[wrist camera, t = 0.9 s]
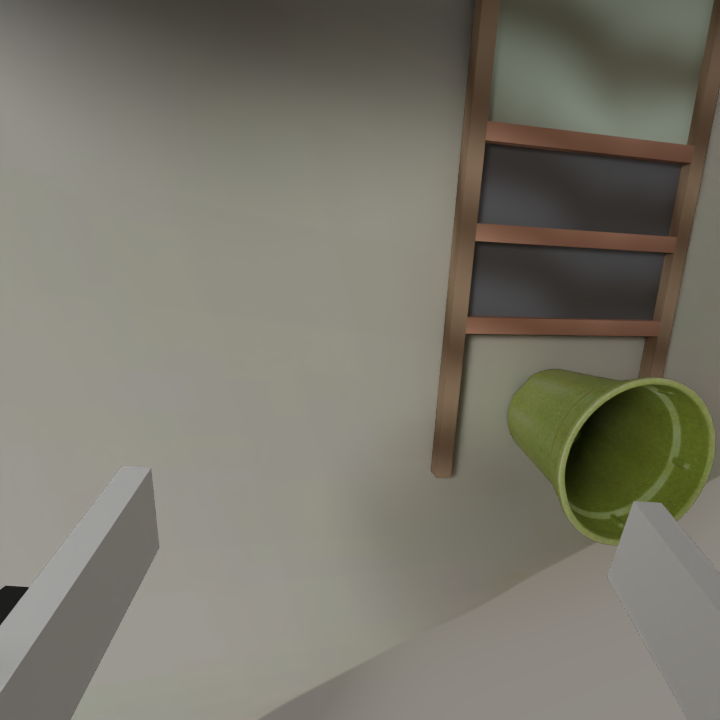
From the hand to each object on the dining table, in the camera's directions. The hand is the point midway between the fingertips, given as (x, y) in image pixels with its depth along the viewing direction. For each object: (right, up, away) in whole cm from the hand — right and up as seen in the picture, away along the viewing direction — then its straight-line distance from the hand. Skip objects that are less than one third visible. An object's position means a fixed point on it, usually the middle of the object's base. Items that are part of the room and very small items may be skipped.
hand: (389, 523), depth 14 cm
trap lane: (+13, +13, +18) cm, 25 cm away
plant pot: (+12, +1, +21) cm, 24 cm away
